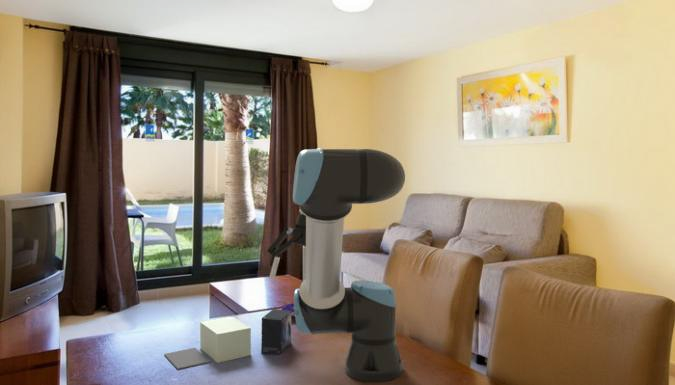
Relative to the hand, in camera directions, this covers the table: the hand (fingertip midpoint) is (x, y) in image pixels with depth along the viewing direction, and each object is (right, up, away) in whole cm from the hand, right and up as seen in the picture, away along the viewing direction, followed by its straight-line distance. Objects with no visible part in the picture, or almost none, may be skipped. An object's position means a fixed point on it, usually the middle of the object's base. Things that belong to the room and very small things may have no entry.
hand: (292, 283), depth 147 cm
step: (-19, -19, -4) cm, 28 cm away
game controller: (-3, -19, +32) cm, 37 cm away
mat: (-29, -20, -9) cm, 36 cm away
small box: (-5, -20, -1) cm, 20 cm away
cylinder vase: (+7, -18, +41) cm, 45 cm away
